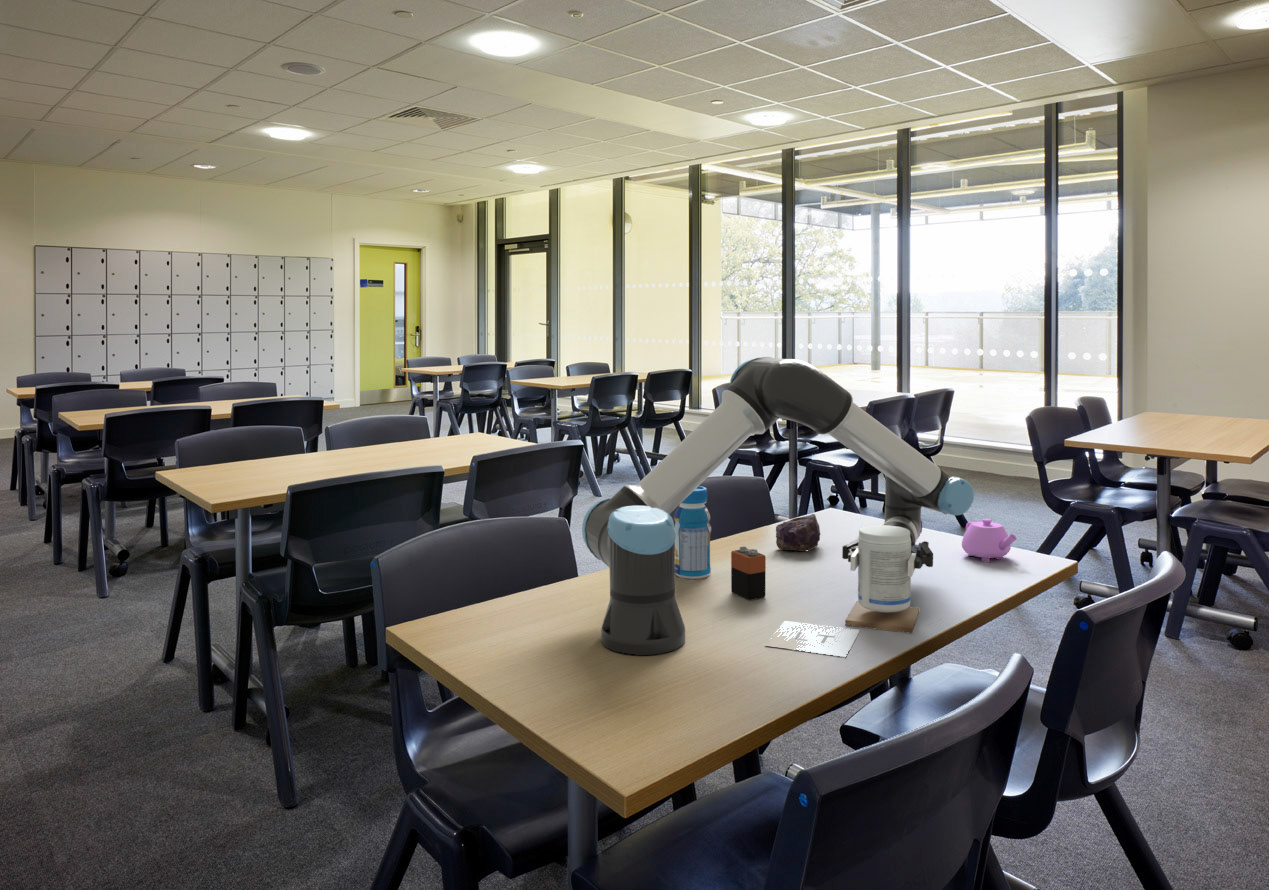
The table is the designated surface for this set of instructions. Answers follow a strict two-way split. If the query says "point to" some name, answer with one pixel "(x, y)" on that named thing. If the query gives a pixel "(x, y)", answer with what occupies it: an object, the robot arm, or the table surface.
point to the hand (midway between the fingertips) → (880, 566)
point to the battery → (748, 573)
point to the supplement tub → (884, 568)
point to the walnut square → (883, 618)
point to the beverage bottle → (693, 536)
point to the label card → (820, 638)
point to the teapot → (986, 540)
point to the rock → (798, 534)
